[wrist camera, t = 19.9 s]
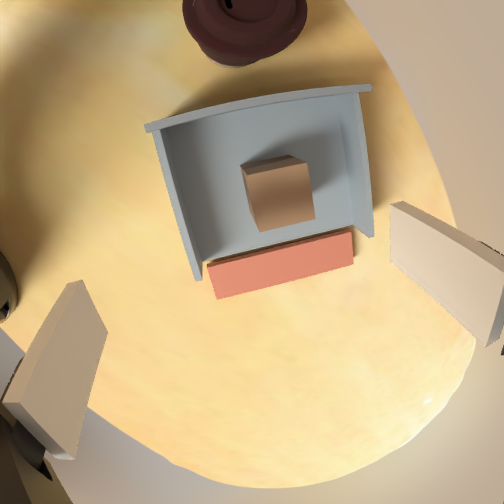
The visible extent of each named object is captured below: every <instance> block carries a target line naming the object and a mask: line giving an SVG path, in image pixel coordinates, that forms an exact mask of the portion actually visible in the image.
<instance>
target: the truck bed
mask: <svg viewBox="0 0 504 504" xmlns="http://www.w3.org/2000/svg"><path fill="white" fill-rule="evenodd" d="M370 91H373V90H372V85H371V84H357V85H343V86H332V87H322V88H313V89H305V90H297V91H290V92H283V93H277V94H271V95H265V96H259V97H254V98H248V99H243V100H238V101H233V102H228V103H224V104H219V105H215V106H211V107H206V108H202V109H198V110H194V111H190V112H186V113H183V114H179V115H175V116H172V117H168V118H165V119H161V120H158V121H154V122H151V123H148V124H145V125H144V126H145V130H146V133H148V132H152V134H153V137H154V141H155V145H156V149H157V153H158V157H159V161H160V164H161V168H162V172H163V175H164V179H165V183H166V186H167V190H168V193H169V197H170V200H171V204H172V207H173V211H174V214H175V217H176V221H177V224H178V227H179V231H180V234H181V237H182V240H183V244H184V247H185V250H186V253H187V256H188V259H189V263H190V266H191V269H192V272H193V275H194V278H195V281H200V280H202V262H204V261H208V260H212V259H216V258H220V257H224V256H228V255H232V254H236V253H240V252H244V251H248V250H253V249H257V248H261V247H265V246H269V245H273V244H277V243H281V242H285V241H289V240H293V239H297V238H301V237H305V236H309V235H313V234H318V233H322V232H326V231H330V230H334V229H338V228H342V227H346V226H350V225H353V226H355V227H356V228H357V229H358V230H360V231H361V232H362V233H363V234H365V235H366V236H367V237H368V238H370V237H374V220H373V205H372V192H371V181H370V171H369V161H368V153H367V144H366V137H365V130H364V123H363V116H362V110H361V104H360V98H359V93H360V92H370ZM285 155H291V156H293V157H296V158H298V159H300V160H302V161H305V162H307V165H308V171H309V177H310V184H311V190H312V197H313V204H314V210H315V218H316V219H314V220H310V221H305V222H301V223H297V224H293V225H289V226H285V227H281V228H276V229H272V230H268V231H264V232H259V230H258V228H257V226H256V224H255V222H254V219H253V217H252V215H251V213H250V209H249V204H248V200H247V195H246V191H245V186H244V182H243V177H242V173H241V168H240V165H243V164H248V163H252V162H257V161H261V160H266V159H271V158H276V157H281V156H285Z"/></svg>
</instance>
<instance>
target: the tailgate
mask: <svg viewBox="0 0 504 504" xmlns="http://www.w3.org/2000/svg"><path fill="white" fill-rule="evenodd" d="M352 264H353V248H352V234H351V231H350V230H349V229H347V230H343V231H339V232H335V233H331V234H327V235H323V236H319V237H315V238H311V239H307V240H303V241H299V242H295V243H291V244H287V245H283V246H279V247H275V248H271V249H267V250H262V251H258V252H254V253H250V254H246V255H242V256H238V257H234V258H230V259H226V260H222V261H218V262H214V263H210V264H207V269H208V272H209V275H210V279H211V282H212V285H213V288H214V292H215V295H216V298H217V299H221V298H226V297H230V296H234V295H238V294H242V293H246V292H250V291H254V290H258V289H262V288H266V287H270V286H274V285H278V284H282V283H286V282H289V281H293V280H297V279H301V278H305V277H308V276H312V275H316V274H319V273H323V272H327V271H330V270H334V269H338V268H341V267H345V266H349V265H352Z"/></svg>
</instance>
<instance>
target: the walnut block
mask: <svg viewBox="0 0 504 504" xmlns="http://www.w3.org/2000/svg"><path fill="white" fill-rule="evenodd" d="M240 168H241V173H242V177H243V182H244V186H245V191H246V195H247V200H248V204H249V209H250V213H251V215H252V217H253V219H254V222H255V224H256V226H257V228H258V230H259V232H264V231H268V230H272V229H276V228H281V227H285V226H289V225H293V224H297V223H301V222H305V221H310V220H314V219H316V218H315V210H314V204H313V197H312V190H311V184H310V177H309V171H308V165H307V162H305V161H302V160H300V159H298V158H296V157H293V156H291V155H285V156H281V157H276V158H271V159H266V160H261V161H257V162H252V163H248V164H243V165H240Z"/></svg>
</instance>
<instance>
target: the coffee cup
mask: <svg viewBox="0 0 504 504" xmlns="http://www.w3.org/2000/svg"><path fill="white" fill-rule="evenodd" d="M182 10H183V16H184V21H185V24H186V27H187V29H188V31H189V32H190V34H191V36H192V37H193V38H194V39H195V40H196V41H197V42H198V44H199V46H200V48H201V49H202V51H203V52H204V53H205V55H206V56H207V57H208V58H209V59H210V60H211V61H212V62H213V63H215V64H217V65H219V66H222V67H226V68H240V67H244V66H246V65H249V64H252V63H254V62H256V61H258V60H260V59H263V58H266V57H269V56H272V55H274V54H276V53H278V52H280V51H282V50H283V49H285V48H286V47H287V46H288V45H290V44H291V43H292V42H293V41H294V40H295V39H296V38H297V37H298V36H299V34H300V33H301V31H302V29H303V27H304V25H305V22H306V18H307V3H306V0H183V4H182Z"/></svg>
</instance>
